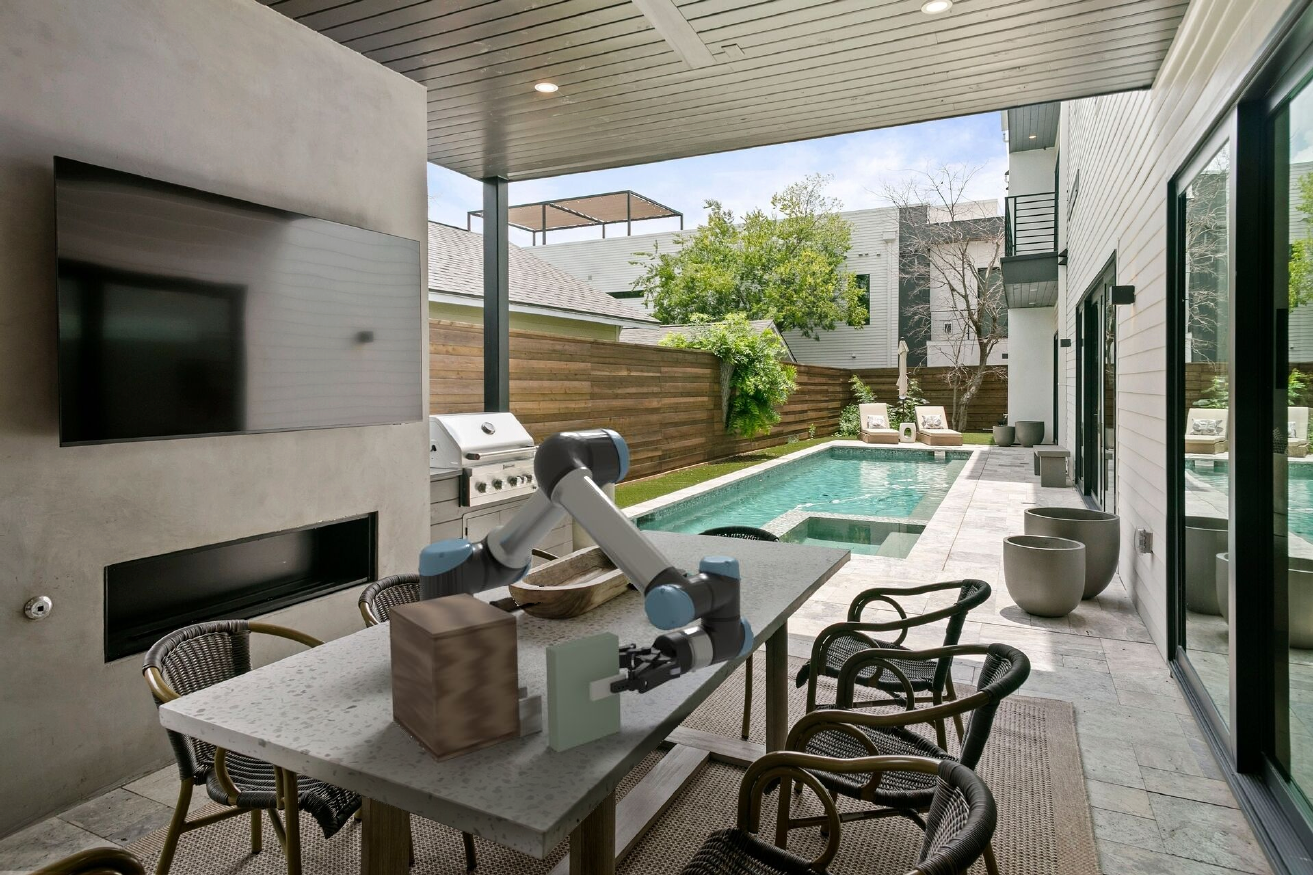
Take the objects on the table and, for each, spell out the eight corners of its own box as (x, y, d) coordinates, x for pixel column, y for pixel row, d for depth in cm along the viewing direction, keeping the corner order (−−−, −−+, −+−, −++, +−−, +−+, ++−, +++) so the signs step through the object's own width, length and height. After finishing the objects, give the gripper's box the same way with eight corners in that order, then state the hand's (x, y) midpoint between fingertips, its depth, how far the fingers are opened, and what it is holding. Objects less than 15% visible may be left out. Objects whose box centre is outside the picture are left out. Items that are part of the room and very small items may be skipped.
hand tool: (497, 617, 196) (497, 599, 195) (488, 614, 198) (487, 597, 198) (553, 602, 210) (553, 585, 210) (544, 599, 213) (543, 583, 212)
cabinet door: (558, 752, 120) (555, 652, 119) (548, 745, 122) (545, 647, 121) (620, 730, 127) (618, 636, 126) (610, 724, 129) (608, 631, 129)
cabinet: (438, 763, 117) (434, 634, 116) (393, 720, 133) (388, 607, 132) (542, 730, 128) (539, 612, 127) (488, 694, 144) (485, 589, 143)
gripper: (723, 690, 128) (613, 728, 114) (644, 656, 146) (540, 686, 132) (722, 646, 128) (612, 679, 114) (643, 618, 145) (539, 643, 131)
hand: (573, 682), depth 123 cm, fingers open, 9 cm apart
